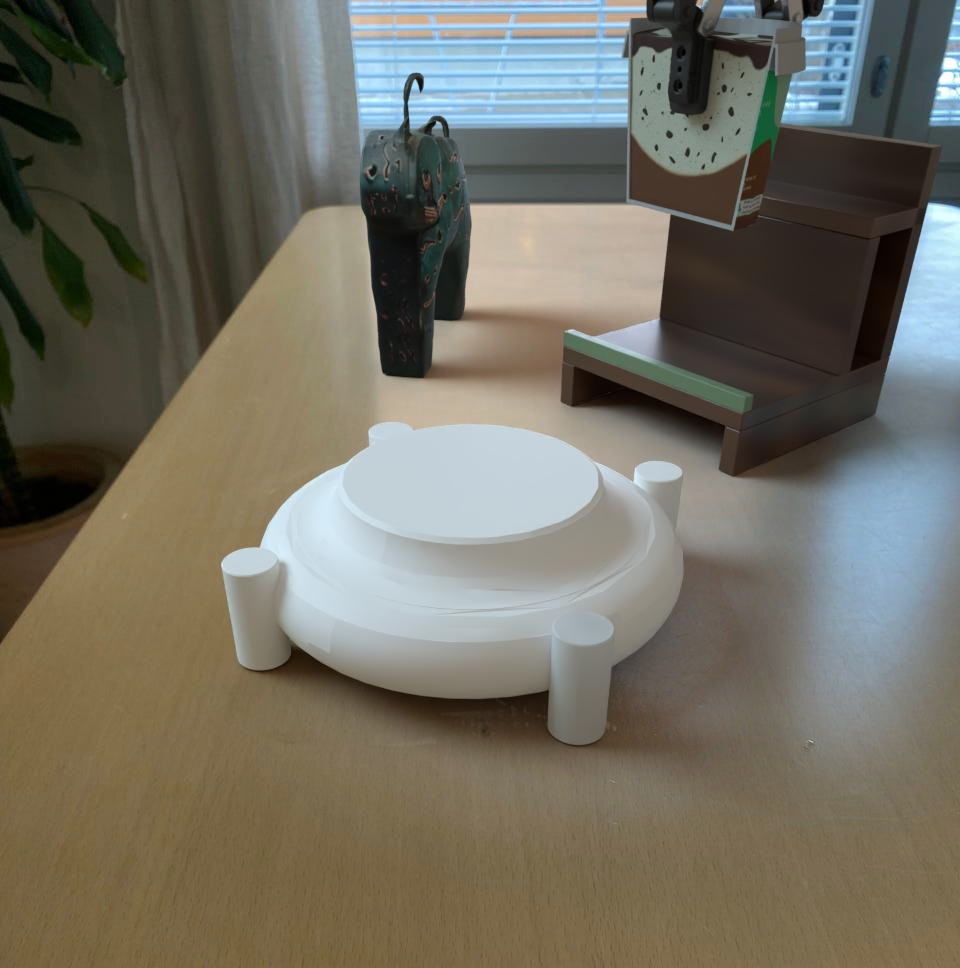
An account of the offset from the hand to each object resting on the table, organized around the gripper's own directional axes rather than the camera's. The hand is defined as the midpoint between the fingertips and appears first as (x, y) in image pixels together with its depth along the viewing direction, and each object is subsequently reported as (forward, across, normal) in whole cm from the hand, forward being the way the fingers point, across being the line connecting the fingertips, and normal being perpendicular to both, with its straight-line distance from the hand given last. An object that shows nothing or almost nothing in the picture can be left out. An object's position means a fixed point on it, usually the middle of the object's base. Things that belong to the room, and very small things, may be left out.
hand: (726, 107), depth 58 cm
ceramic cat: (+20, -5, +25) cm, 32 cm away
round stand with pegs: (+20, -27, -9) cm, 34 cm away
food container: (+6, 0, 0) cm, 6 cm away
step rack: (+20, +3, 0) cm, 20 cm away
